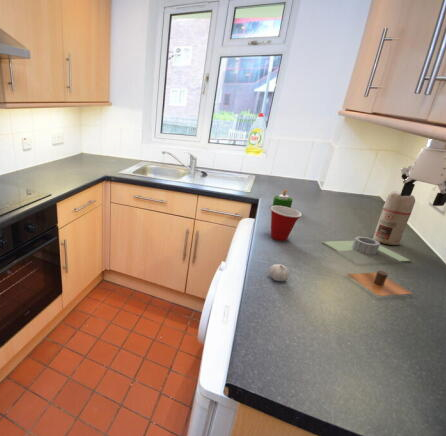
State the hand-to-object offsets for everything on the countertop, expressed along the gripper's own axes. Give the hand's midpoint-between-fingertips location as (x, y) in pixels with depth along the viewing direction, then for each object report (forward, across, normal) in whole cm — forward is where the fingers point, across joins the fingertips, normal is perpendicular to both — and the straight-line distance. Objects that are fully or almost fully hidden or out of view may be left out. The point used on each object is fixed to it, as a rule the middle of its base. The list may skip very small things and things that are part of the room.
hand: (420, 200), depth 93 cm
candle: (+22, +54, +6) cm, 59 cm away
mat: (+22, +8, +4) cm, 24 cm away
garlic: (+22, -6, +47) cm, 52 cm away
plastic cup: (+22, +21, +28) cm, 42 cm away
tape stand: (+22, -12, +19) cm, 32 cm away
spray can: (+22, +15, -12) cm, 30 cm away
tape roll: (+22, +8, +4) cm, 24 cm away
